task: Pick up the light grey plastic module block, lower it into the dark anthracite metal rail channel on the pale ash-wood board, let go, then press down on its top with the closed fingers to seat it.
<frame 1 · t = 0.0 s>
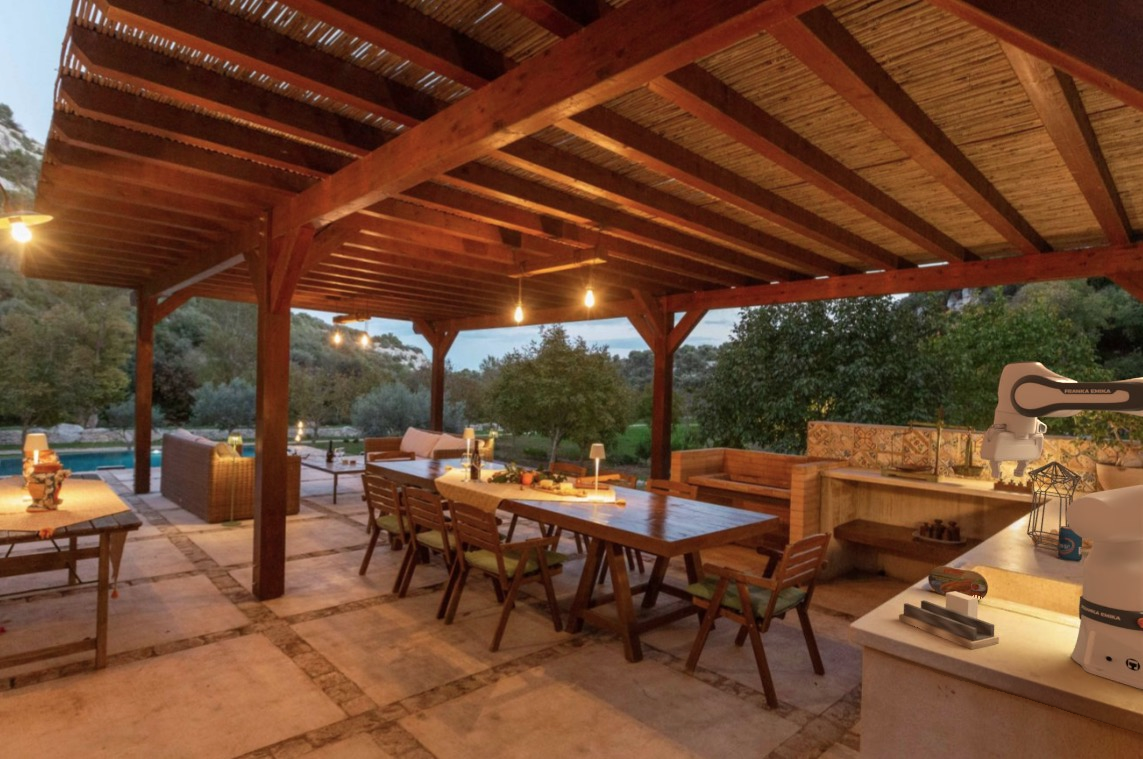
hand: (1007, 477, 160), 39 cm above the table, tool pointing down, fingers open, 8 cm apart
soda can: (1069, 560, 232), on the table
geometric lantern: (1052, 548, 251), on the table
module: (961, 618, 166), on the table
rail board: (946, 631, 156), on the table
tin: (957, 597, 184), on the table
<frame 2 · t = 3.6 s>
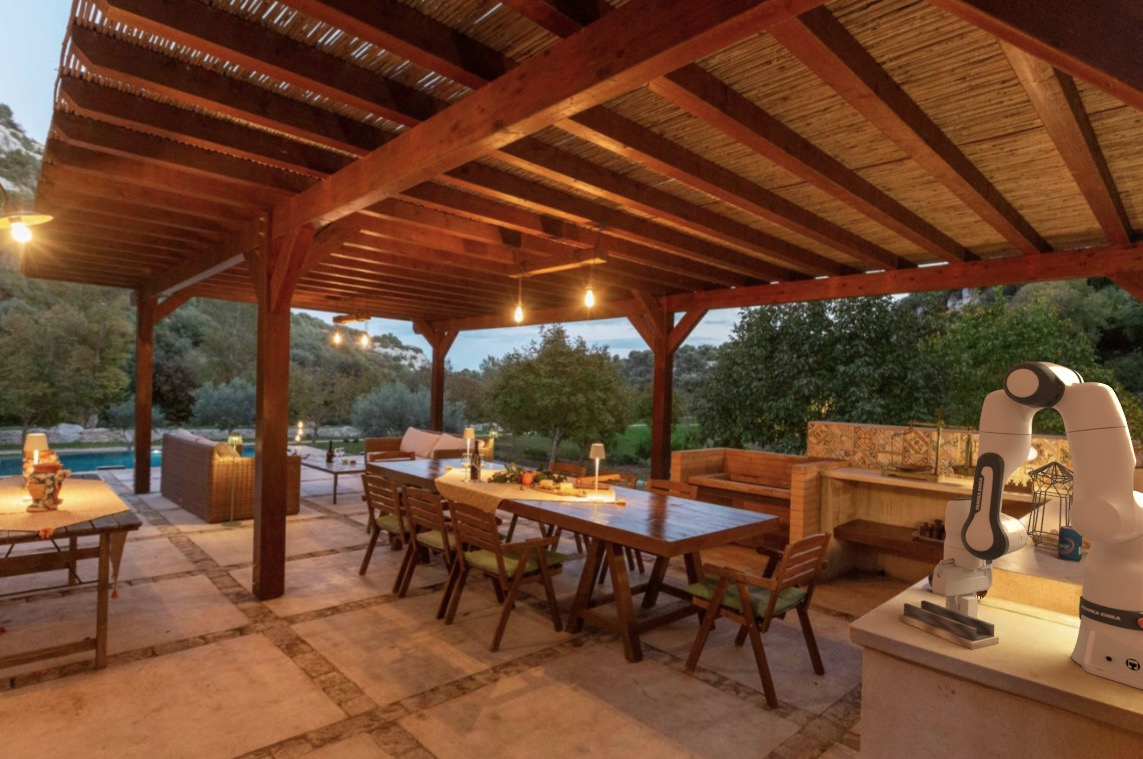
hand: (961, 609, 166), 2 cm above the table, tool pointing down, fingers closed on module, 4 cm apart
module: (961, 617, 166), on the table, touching gripper
everything else where it was.
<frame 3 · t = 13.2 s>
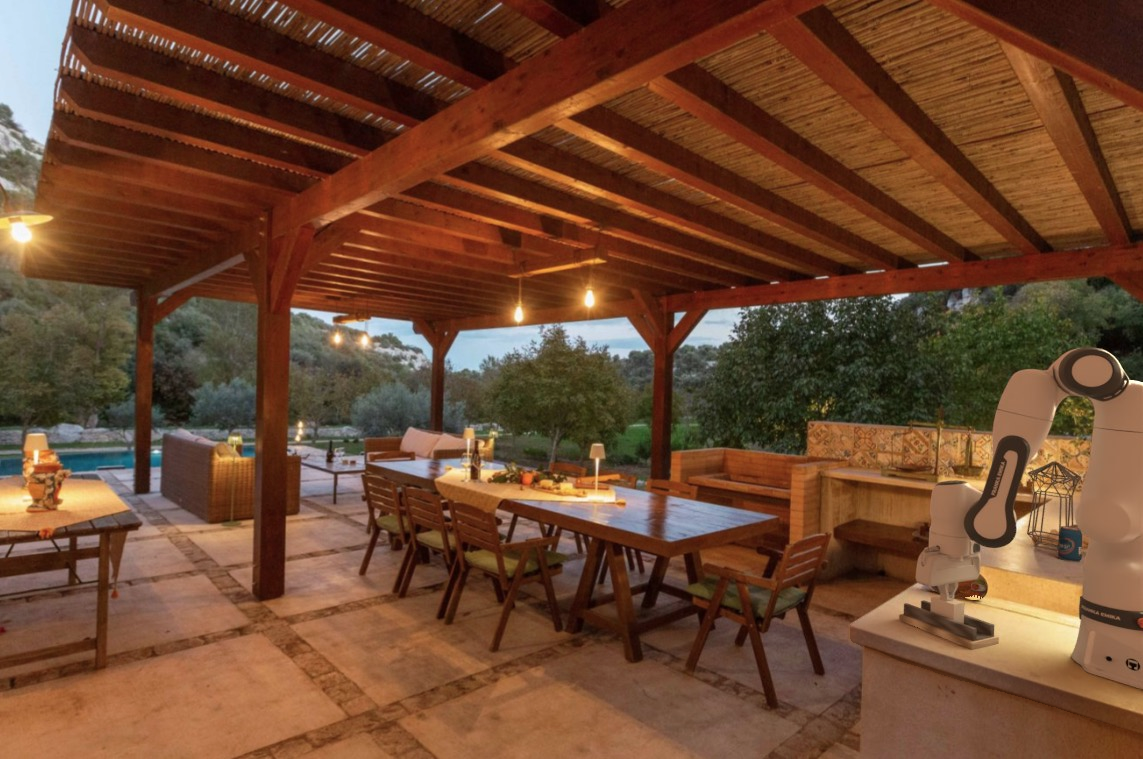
hand: (947, 599, 156), 8 cm above the table, tool pointing down, fingers closed, pressing on module
module: (946, 623, 156), point 2 cm above the table, touching gripper, rail board
everything else where it was.
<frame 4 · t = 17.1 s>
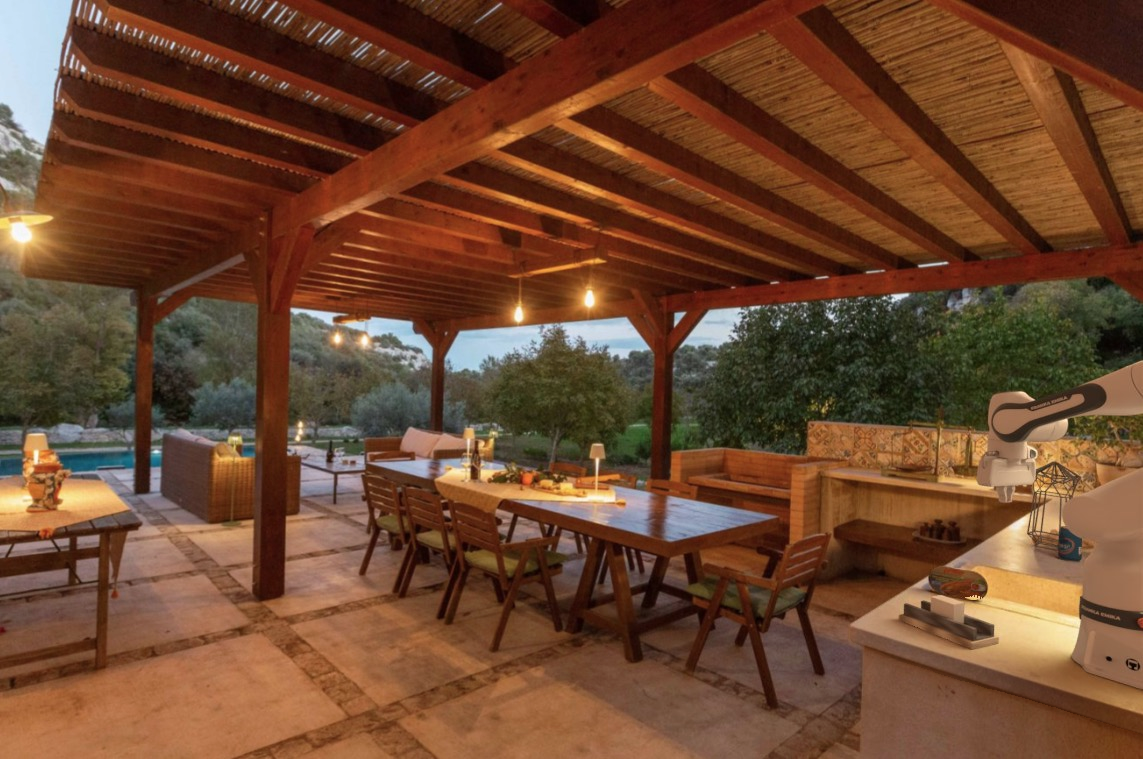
hand: (1005, 502, 167), 31 cm above the table, tool pointing down, fingers closed
module: (946, 623, 156), point 2 cm above the table, touching rail board
everything else where it was.
at the end: module 0.1 cm off-centre on the rail board, point 1.9 cm above the rail board's base; module tilted 0°; the gripper is holding nothing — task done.
